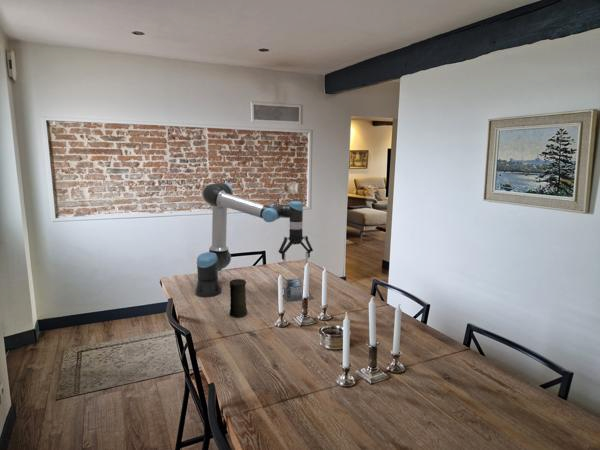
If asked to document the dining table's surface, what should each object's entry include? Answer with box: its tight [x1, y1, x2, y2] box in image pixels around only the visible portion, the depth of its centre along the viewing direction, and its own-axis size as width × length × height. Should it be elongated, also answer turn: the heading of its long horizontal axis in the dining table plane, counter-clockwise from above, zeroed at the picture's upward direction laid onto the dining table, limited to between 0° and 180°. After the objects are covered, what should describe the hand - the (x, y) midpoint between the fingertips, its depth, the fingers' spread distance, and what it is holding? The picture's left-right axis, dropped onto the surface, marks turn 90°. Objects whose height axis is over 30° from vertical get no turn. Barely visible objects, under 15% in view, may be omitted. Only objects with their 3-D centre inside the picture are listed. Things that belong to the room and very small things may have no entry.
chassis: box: [283, 277, 315, 303], centre depth 233 cm, size 20×16×8 cm
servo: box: [291, 278, 301, 287], centre depth 233 cm, size 9×4×9 cm, turn 17°
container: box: [229, 278, 248, 319], centre depth 203 cm, size 9×9×18 cm
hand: (295, 263), depth 230 cm, fingers open, 13 cm apart
